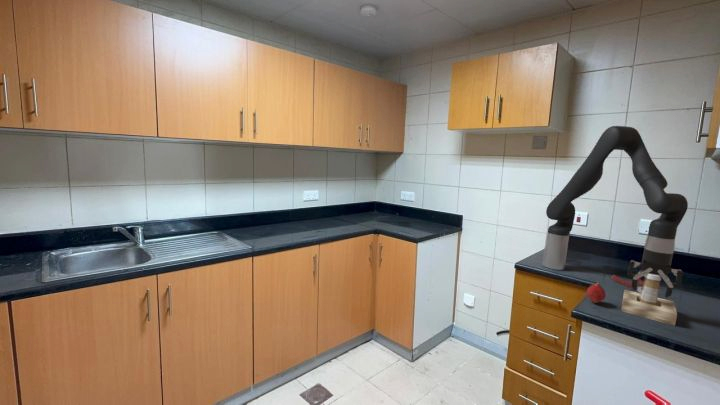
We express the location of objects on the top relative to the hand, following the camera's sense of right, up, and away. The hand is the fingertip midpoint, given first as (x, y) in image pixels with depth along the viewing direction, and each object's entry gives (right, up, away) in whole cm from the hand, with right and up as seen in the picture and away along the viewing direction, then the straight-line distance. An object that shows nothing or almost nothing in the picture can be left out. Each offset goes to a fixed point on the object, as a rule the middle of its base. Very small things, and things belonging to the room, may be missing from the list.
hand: (650, 292), depth 115 cm
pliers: (+14, -5, +25) cm, 29 cm away
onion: (-16, -6, +6) cm, 18 cm away
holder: (0, -7, +1) cm, 7 cm away
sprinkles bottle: (0, -6, +1) cm, 6 cm away
